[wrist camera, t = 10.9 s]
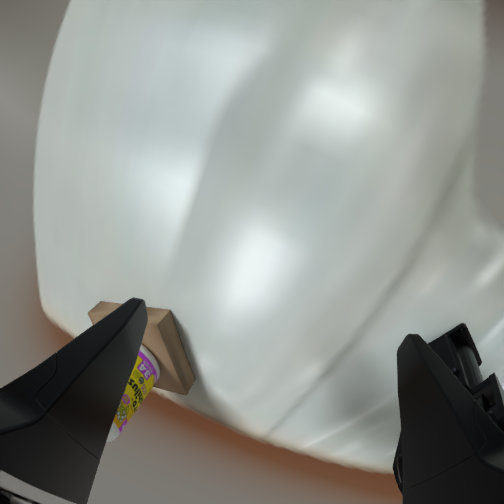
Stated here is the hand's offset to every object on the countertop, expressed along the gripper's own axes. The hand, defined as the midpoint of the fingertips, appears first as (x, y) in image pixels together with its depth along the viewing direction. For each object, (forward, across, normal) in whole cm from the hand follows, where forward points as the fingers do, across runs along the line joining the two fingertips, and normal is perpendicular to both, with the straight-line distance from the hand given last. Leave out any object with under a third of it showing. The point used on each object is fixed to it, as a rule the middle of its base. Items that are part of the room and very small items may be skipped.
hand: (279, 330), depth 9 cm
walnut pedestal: (+12, +12, +20) cm, 26 cm away
